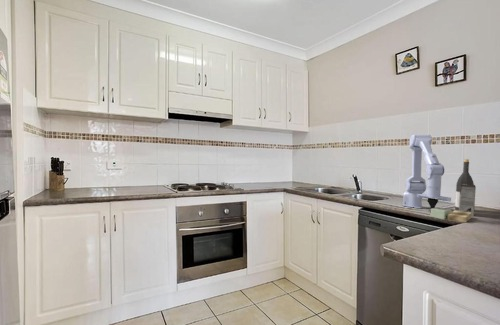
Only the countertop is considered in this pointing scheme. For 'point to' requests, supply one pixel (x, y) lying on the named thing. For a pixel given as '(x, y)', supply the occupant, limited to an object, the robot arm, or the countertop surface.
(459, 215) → the bamboo board
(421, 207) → the robot arm
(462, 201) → the coffee box
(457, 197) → the wine bottle
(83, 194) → the countertop surface
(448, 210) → the sage block
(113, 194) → the countertop surface
